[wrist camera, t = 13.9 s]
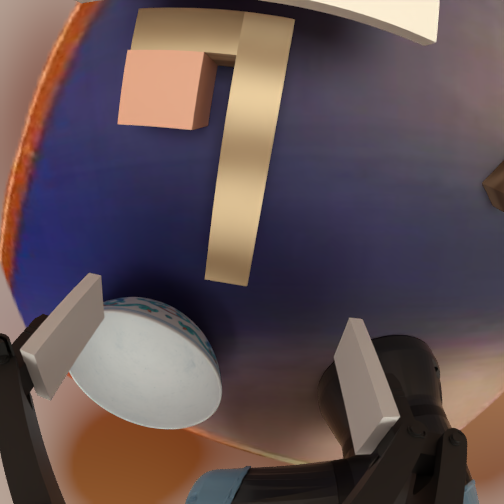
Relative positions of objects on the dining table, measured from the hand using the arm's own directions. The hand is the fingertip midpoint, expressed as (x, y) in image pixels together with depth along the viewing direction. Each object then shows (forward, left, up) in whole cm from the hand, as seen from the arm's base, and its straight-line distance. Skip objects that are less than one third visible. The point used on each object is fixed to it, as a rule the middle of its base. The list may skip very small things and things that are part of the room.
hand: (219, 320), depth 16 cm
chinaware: (-12, +7, -13) cm, 19 cm away
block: (+11, +6, -13) cm, 18 cm away
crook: (+7, +4, -12) cm, 15 cm away
